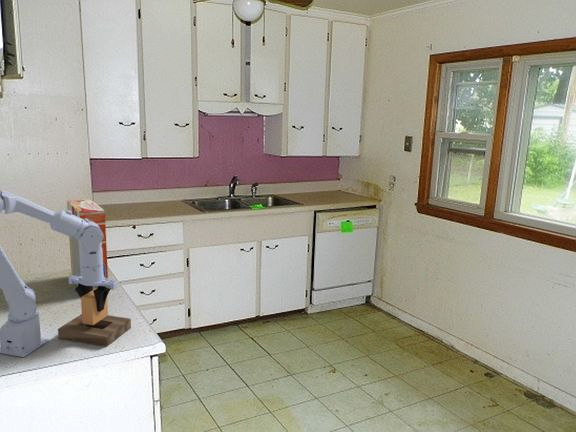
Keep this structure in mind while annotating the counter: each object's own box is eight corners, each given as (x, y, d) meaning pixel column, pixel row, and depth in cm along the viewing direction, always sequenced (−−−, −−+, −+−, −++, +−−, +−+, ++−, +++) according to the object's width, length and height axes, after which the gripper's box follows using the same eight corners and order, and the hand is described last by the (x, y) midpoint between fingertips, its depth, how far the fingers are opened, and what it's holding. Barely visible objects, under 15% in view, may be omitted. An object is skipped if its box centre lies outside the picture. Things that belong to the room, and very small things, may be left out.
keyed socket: (107, 346, 127) (106, 336, 127) (58, 338, 131) (57, 328, 130) (131, 327, 139) (130, 318, 138) (85, 320, 142) (85, 311, 142)
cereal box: (108, 292, 164) (104, 210, 158) (84, 297, 160) (79, 212, 153) (93, 273, 183) (89, 199, 176) (71, 276, 178) (66, 200, 172)
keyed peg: (108, 315, 137) (106, 289, 135) (93, 325, 130) (91, 298, 129) (97, 313, 138) (96, 288, 136) (82, 323, 131) (80, 297, 129)
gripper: (123, 263, 133) (124, 307, 136) (78, 257, 136) (81, 301, 139) (108, 270, 126) (110, 317, 129) (62, 265, 129) (65, 310, 132)
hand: (94, 309), depth 133 cm, fingers closed on keyed peg, 3 cm apart
